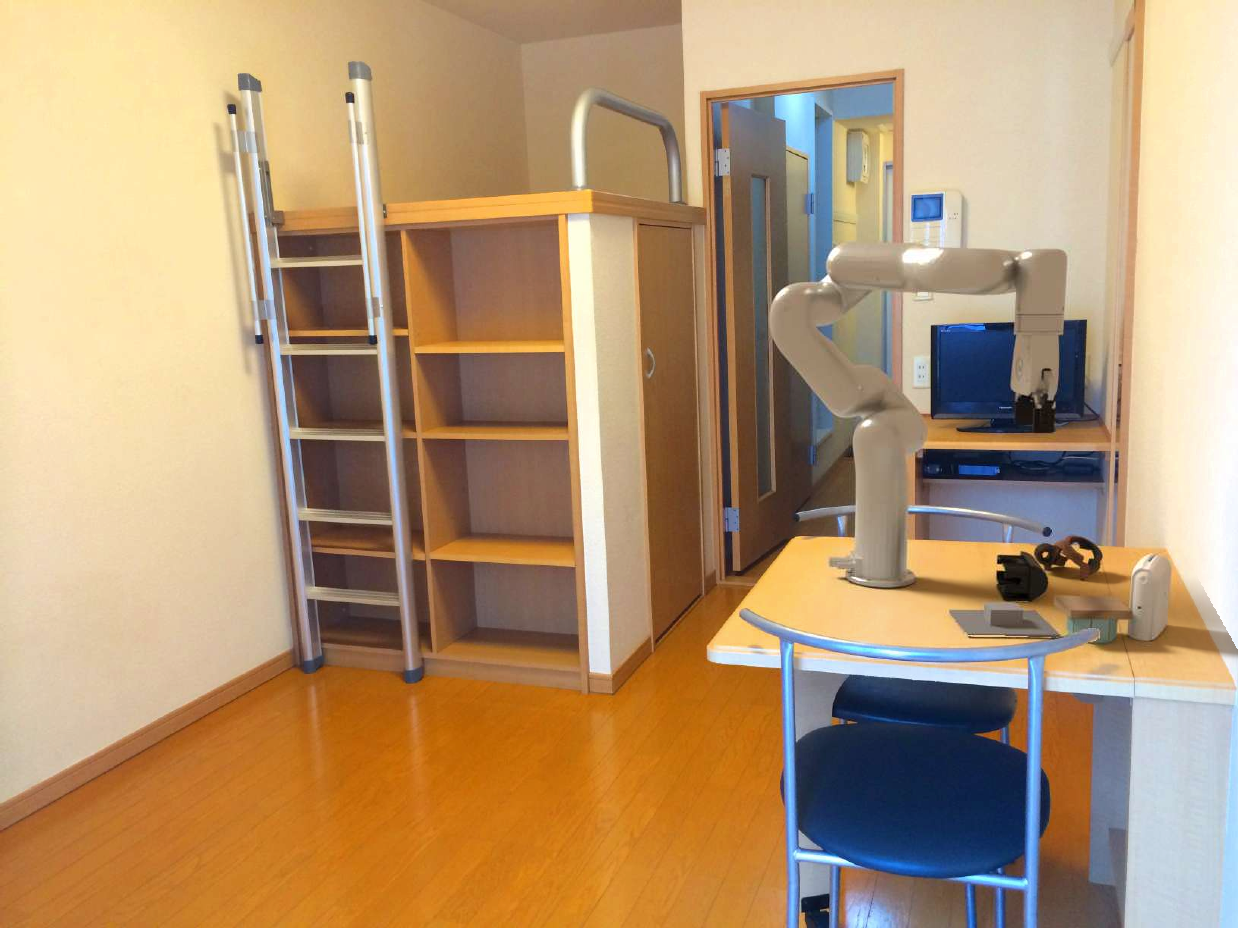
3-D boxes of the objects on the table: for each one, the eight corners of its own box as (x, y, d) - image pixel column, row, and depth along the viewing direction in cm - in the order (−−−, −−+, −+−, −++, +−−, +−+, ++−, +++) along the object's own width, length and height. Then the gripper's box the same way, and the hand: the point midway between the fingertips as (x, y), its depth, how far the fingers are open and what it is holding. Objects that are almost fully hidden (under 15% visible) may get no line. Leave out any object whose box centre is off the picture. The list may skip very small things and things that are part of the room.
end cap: (1047, 604, 174) (1049, 566, 173) (1004, 602, 176) (1005, 564, 175) (1036, 587, 184) (1038, 551, 183) (995, 585, 186) (996, 549, 184)
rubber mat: (967, 637, 159) (968, 617, 158) (949, 612, 170) (949, 594, 170) (1060, 638, 157) (1061, 618, 157) (1035, 613, 169) (1036, 595, 169)
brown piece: (1074, 567, 198) (1096, 535, 194) (1091, 600, 191) (1115, 569, 186) (1018, 554, 197) (1039, 522, 192) (1033, 587, 189) (1056, 555, 184)
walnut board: (1070, 618, 154) (1071, 610, 154) (1053, 603, 161) (1054, 595, 161) (1132, 619, 153) (1132, 610, 153) (1112, 604, 161) (1113, 595, 160)
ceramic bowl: (1076, 643, 155) (1078, 618, 154) (1061, 629, 162) (1063, 605, 161) (1121, 644, 155) (1123, 618, 154) (1104, 629, 161) (1106, 605, 160)
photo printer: (1154, 643, 155) (1160, 565, 152) (1123, 637, 157) (1129, 560, 155) (1170, 625, 162) (1176, 550, 160) (1140, 620, 165) (1146, 546, 163)
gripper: (1000, 324, 176) (995, 422, 179) (1032, 328, 159) (1026, 436, 162) (1044, 323, 175) (1039, 421, 178) (1081, 327, 158) (1075, 436, 161)
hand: (1033, 428), depth 170 cm, fingers open, 9 cm apart
